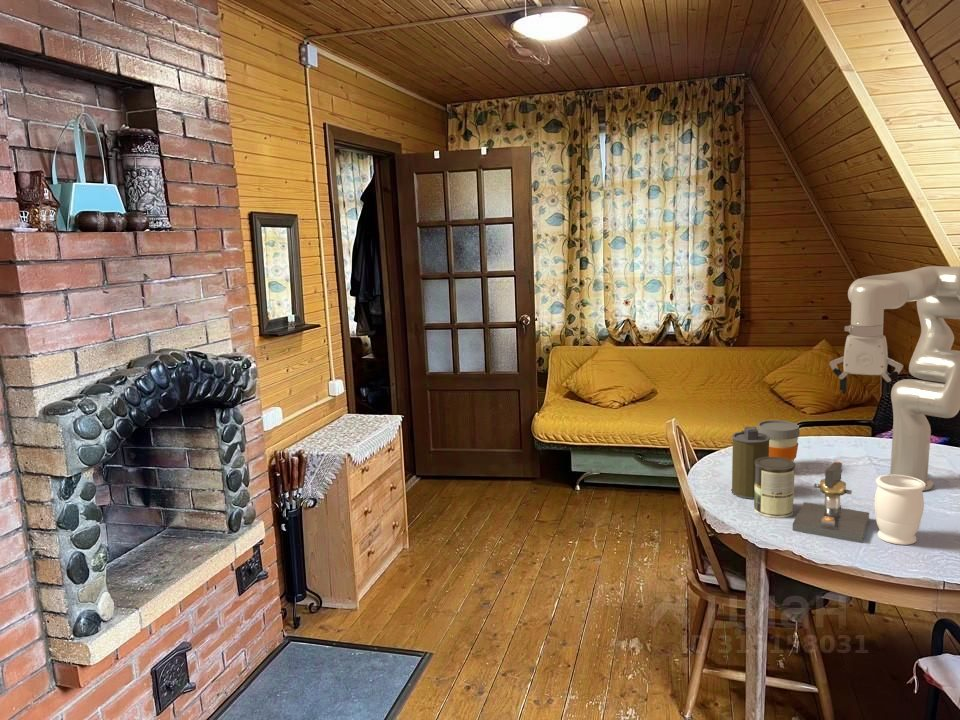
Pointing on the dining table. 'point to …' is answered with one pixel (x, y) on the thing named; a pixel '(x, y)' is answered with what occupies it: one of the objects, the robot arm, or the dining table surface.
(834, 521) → the lever latch plate
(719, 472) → the dining table surface
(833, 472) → the latch lever
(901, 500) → the jar
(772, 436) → the reusable coffee cup
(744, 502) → the dining table surface
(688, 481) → the dining table surface
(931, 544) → the dining table surface
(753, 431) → the canister
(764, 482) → the coffee can
